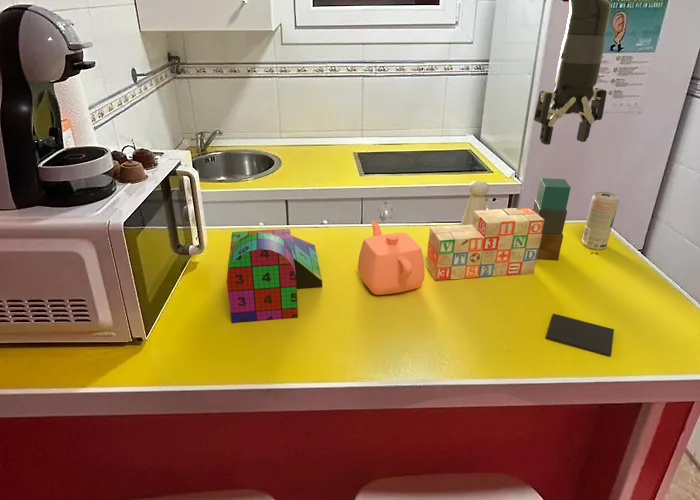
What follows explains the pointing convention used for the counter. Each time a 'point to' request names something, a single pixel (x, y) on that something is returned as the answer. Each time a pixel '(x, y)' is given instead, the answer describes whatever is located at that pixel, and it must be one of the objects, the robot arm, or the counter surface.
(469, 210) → the beige tapered round-topped piece
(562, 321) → the rubber mat
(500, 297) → the counter surface
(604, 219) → the energy drink
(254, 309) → the checkered arched block
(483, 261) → the stack of blocks
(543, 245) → the walnut base block
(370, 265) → the teapot
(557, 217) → the charcoal middle block
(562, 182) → the teal top block
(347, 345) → the counter surface
